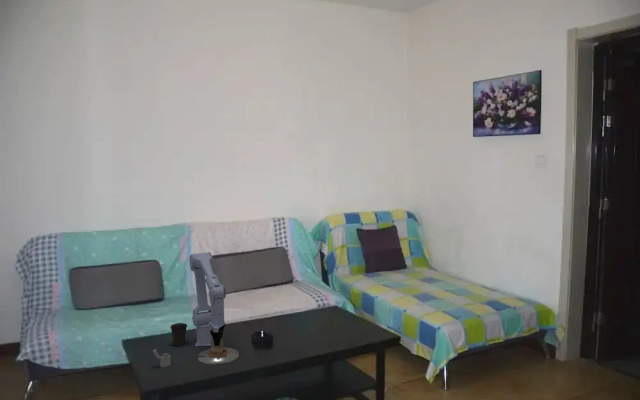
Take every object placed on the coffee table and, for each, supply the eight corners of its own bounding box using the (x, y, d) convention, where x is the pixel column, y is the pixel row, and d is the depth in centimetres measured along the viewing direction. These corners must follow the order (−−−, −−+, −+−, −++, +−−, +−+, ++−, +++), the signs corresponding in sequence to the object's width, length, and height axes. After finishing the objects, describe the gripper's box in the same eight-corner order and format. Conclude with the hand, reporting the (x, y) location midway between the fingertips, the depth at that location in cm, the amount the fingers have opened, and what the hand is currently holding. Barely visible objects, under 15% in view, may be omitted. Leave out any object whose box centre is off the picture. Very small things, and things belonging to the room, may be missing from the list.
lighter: (170, 364, 222) (169, 346, 222) (170, 365, 221) (170, 347, 220) (153, 367, 219) (152, 349, 218) (153, 368, 217) (153, 350, 217)
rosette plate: (201, 350, 239) (201, 345, 239) (240, 348, 240) (240, 343, 240) (194, 365, 221) (194, 359, 221) (236, 363, 222) (236, 358, 222)
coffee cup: (183, 347, 242) (182, 327, 241) (167, 346, 244) (166, 326, 243) (190, 342, 250) (190, 322, 249) (175, 341, 252) (175, 321, 251)
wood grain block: (211, 353, 232) (211, 338, 231) (223, 353, 232) (222, 338, 232) (211, 356, 229) (210, 340, 228) (222, 355, 229) (222, 340, 229)
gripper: (210, 308, 236) (211, 337, 237) (206, 318, 222) (206, 348, 223) (226, 308, 236) (226, 337, 237) (222, 317, 222) (223, 348, 223)
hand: (218, 342), depth 230 cm, fingers open, 7 cm apart
